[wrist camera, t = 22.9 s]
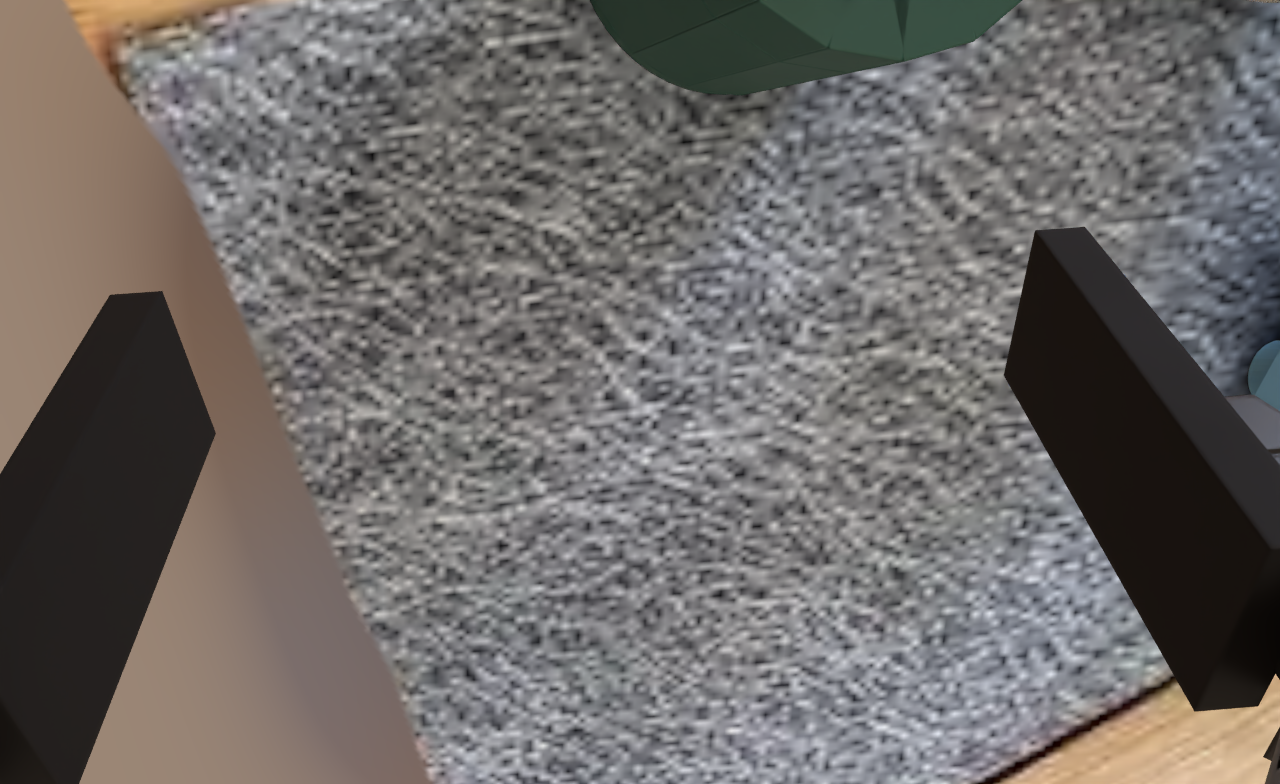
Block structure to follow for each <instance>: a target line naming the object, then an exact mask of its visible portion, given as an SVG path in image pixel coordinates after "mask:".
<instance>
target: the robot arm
mask: <svg viewBox="0 0 1280 784" xmlns="http://www.w3.org/2000/svg"><path fill="white" fill-rule="evenodd" d="M1004 376H1005V378H1006V380H1007V382H1008V384H1009V385H1010V387H1011V389H1012V391H1013V392H1014V394H1015V396H1016V398H1017V399H1018V401H1019V403H1020V405H1021V406H1022V408H1023V410H1024V412H1025V413H1026V415H1027V417H1028V419H1029V421H1030V422H1031V424H1032V426H1033V428H1034V429H1035V431H1036V433H1037V435H1038V436H1039V438H1040V440H1041V442H1042V443H1043V445H1044V447H1045V449H1046V450H1047V452H1048V454H1049V456H1050V458H1051V459H1052V461H1053V463H1054V465H1055V466H1056V468H1057V470H1058V472H1059V473H1060V475H1061V477H1062V479H1063V480H1064V482H1065V484H1066V486H1067V487H1068V489H1069V491H1070V493H1071V495H1072V496H1073V498H1074V500H1075V502H1076V503H1077V505H1078V507H1079V509H1080V510H1081V512H1082V514H1083V516H1084V517H1085V519H1086V521H1087V523H1088V524H1089V526H1090V528H1091V530H1092V532H1093V533H1094V535H1095V537H1096V539H1097V540H1098V542H1099V544H1100V546H1101V547H1102V549H1103V551H1104V553H1105V554H1106V556H1107V558H1108V560H1109V561H1110V563H1111V565H1112V567H1113V569H1114V570H1115V572H1116V574H1117V576H1118V577H1119V579H1120V581H1121V583H1122V584H1123V586H1124V588H1125V590H1126V591H1127V593H1128V595H1129V597H1130V599H1131V600H1132V602H1133V604H1134V606H1135V607H1136V609H1137V611H1138V613H1139V614H1140V616H1141V618H1142V620H1143V621H1144V623H1145V625H1146V627H1147V628H1148V630H1149V632H1150V634H1151V636H1152V637H1153V639H1154V641H1155V643H1156V644H1157V646H1158V648H1159V650H1160V651H1161V653H1162V655H1163V657H1164V658H1165V660H1166V662H1167V664H1168V665H1169V667H1170V669H1171V671H1172V673H1173V674H1174V676H1175V678H1176V680H1177V681H1178V683H1179V685H1180V687H1181V688H1182V690H1183V692H1184V694H1185V695H1186V697H1187V699H1188V701H1189V702H1190V704H1191V706H1192V708H1193V710H1194V711H1207V710H1219V709H1231V708H1243V707H1255V706H1259V704H1260V702H1261V700H1262V698H1263V696H1264V694H1265V692H1266V690H1267V689H1268V687H1269V685H1270V683H1271V681H1272V679H1273V677H1274V675H1275V673H1276V675H1277V676H1278V678H1279V679H1280V411H1279V410H1277V409H1276V408H1274V407H1273V406H1271V405H1269V404H1268V403H1266V402H1265V401H1263V400H1262V399H1260V398H1258V397H1257V396H1255V395H1241V396H1227V397H1224V396H1223V395H1222V394H1221V392H1220V391H1219V390H1218V389H1217V387H1216V386H1215V385H1214V384H1213V383H1212V381H1211V380H1210V379H1209V378H1208V377H1207V375H1206V374H1205V373H1204V372H1203V370H1202V369H1201V368H1200V367H1199V366H1198V364H1197V363H1196V362H1195V361H1194V359H1193V358H1192V357H1191V356H1190V355H1189V353H1188V352H1187V351H1186V350H1185V348H1184V347H1183V346H1182V345H1181V344H1180V342H1179V341H1178V340H1177V339H1176V338H1175V336H1174V335H1173V334H1172V333H1171V331H1170V330H1169V329H1168V328H1167V327H1166V325H1165V324H1164V323H1163V322H1162V320H1161V319H1160V318H1159V317H1158V316H1157V314H1156V313H1155V312H1154V311H1153V310H1152V308H1151V307H1150V306H1149V305H1148V303H1147V302H1146V301H1145V300H1144V299H1143V297H1142V296H1141V295H1140V294H1139V292H1138V291H1137V290H1136V289H1135V288H1134V286H1133V285H1132V284H1131V283H1130V282H1129V280H1128V279H1127V278H1126V277H1125V275H1124V274H1123V273H1122V272H1121V271H1120V269H1119V268H1118V267H1117V266H1116V264H1115V263H1114V262H1113V261H1112V260H1111V258H1110V257H1109V256H1108V255H1107V254H1106V252H1105V251H1104V250H1103V249H1102V247H1101V246H1100V245H1099V244H1098V243H1097V241H1096V240H1095V239H1094V238H1093V236H1092V235H1091V234H1090V233H1089V232H1088V230H1087V229H1086V228H1085V227H1079V228H1064V229H1050V230H1036V231H1035V233H1034V238H1033V243H1032V247H1031V252H1030V257H1029V261H1028V266H1027V271H1026V275H1025V280H1024V284H1023V289H1022V294H1021V298H1020V303H1019V308H1018V312H1017V317H1016V322H1015V326H1014V331H1013V336H1012V340H1011V345H1010V349H1009V354H1008V359H1007V363H1006V368H1005V373H1004ZM215 434H216V433H215V430H214V427H213V425H212V422H211V419H210V417H209V414H208V411H207V409H206V406H205V403H204V401H203V398H202V396H201V393H200V390H199V388H198V385H197V382H196V380H195V377H194V375H193V372H192V369H191V366H190V364H189V361H188V358H187V356H186V353H185V350H184V348H183V345H182V342H181V340H180V337H179V334H178V332H177V329H176V327H175V324H174V321H173V319H172V316H171V313H170V310H169V308H168V305H167V302H166V300H165V297H164V295H163V292H162V291H158V292H145V293H130V294H115V295H110V296H109V298H108V299H107V301H106V303H105V304H104V306H103V307H102V309H101V310H100V312H99V314H98V315H97V317H96V319H95V320H94V322H93V324H92V325H91V327H90V328H89V330H88V332H87V334H86V335H85V337H84V338H83V340H82V341H81V343H80V345H79V346H78V348H77V350H76V351H75V353H74V355H73V356H72V358H71V360H70V361H69V363H68V364H67V366H66V368H65V369H64V371H63V373H62V374H61V376H60V378H59V379H58V381H57V382H56V384H55V386H54V387H53V389H52V390H51V392H50V394H49V395H48V397H47V399H46V400H45V402H44V404H43V405H42V407H41V408H40V410H39V412H38V413H37V415H36V417H35V418H34V420H33V421H32V423H31V425H30V427H29V428H28V430H27V432H26V433H25V435H24V436H23V438H22V439H21V441H20V443H19V444H18V446H17V448H16V449H15V451H14V453H13V454H12V456H11V457H10V459H9V461H8V462H7V464H6V466H5V467H4V469H3V471H2V472H1V474H0V784H79V782H80V780H81V777H82V774H83V772H84V769H85V767H86V764H87V762H88V759H89V757H90V754H91V751H92V749H93V746H94V744H95V741H96V739H97V736H98V734H99V731H100V728H101V726H102V723H103V721H104V718H105V716H106V713H107V710H108V708H109V705H110V703H111V700H112V698H113V695H114V692H115V690H116V687H117V685H118V682H119V680H120V677H121V674H122V672H123V669H124V667H125V664H126V662H127V659H128V657H129V654H130V652H131V649H132V646H133V644H134V641H135V639H136V636H137V634H138V631H139V629H140V626H141V623H142V621H143V618H144V616H145V613H146V611H147V608H148V605H149V603H150V600H151V598H152V595H153V592H154V590H155V588H156V585H157V582H158V580H159V577H160V575H161V572H162V570H163V567H164V564H165V562H166V559H167V556H168V554H169V552H170V549H171V546H172V544H173V541H174V539H175V536H176V534H177V531H178V529H179V526H180V524H181V521H182V518H183V516H184V513H185V511H186V508H187V506H188V503H189V500H190V498H191V495H192V493H193V490H194V487H195V485H196V482H197V480H198V477H199V475H200V472H201V470H202V467H203V465H204V462H205V459H206V457H207V454H208V452H209V449H210V447H211V444H212V441H213V439H214V436H215ZM1263 757H1264V758H1267V759H1269V760H1271V761H1272V762H1271V765H1270V768H1269V772H1268V775H1267V778H1266V782H1265V784H1280V728H1279V729H1278V731H1277V733H1276V735H1275V737H1274V738H1273V740H1272V742H1271V744H1270V746H1269V747H1268V749H1267V751H1266V753H1265V754H1264V756H1263Z"/></svg>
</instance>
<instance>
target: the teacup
mask: <svg viewBox="0 0 1280 784" xmlns="http://www.w3.org/2000/svg"><path fill="white" fill-rule="evenodd" d="M1246 1H1253V2H1264V3H1277V2H1280V0H1246Z"/></svg>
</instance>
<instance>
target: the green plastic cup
mask: <svg viewBox="0 0 1280 784" xmlns="http://www.w3.org/2000/svg"><path fill="white" fill-rule="evenodd" d="M590 1H591V3H592V5H593V7H594V10H595V12H596V13H597V15H598V17H599V18H600V20H601V21H602V23H603V25H604V26H605V28H606V29H607V31H608V32H609V33H610V35H611V36H612V37H613V38H614V40H615V41H616V42H617V43H618V44H619V46H620V47H621V48H622V49H623V50H624V51H625V52H626V53H627V54H628V55H630V56H631V57H632V58H633V59H634V60H635V61H636V62H637V63H639V64H640V65H641V66H643V67H644V68H646V69H647V70H648V71H650V72H651V73H653V74H654V75H656V76H658V77H660V78H662V79H664V80H665V81H667V82H669V83H672V84H675V85H677V86H680V87H683V88H685V89H689V90H693V91H697V92H702V93H709V94H722V95H725V94H733V95H746V94H751V93H756V92H760V91H765V90H770V89H775V88H780V87H784V86H789V85H794V84H799V83H804V82H809V81H813V80H818V79H823V78H828V77H833V76H837V75H842V74H847V73H852V72H857V71H862V70H866V69H871V68H876V67H881V66H886V65H890V64H895V63H900V62H905V61H908V60H912V59H915V58H919V57H922V56H925V55H929V54H932V53H936V52H939V51H943V50H946V49H949V48H953V47H956V46H960V45H963V44H966V43H970V42H973V41H975V39H977V38H979V37H980V36H981V35H982V34H983V33H984V32H986V31H987V30H988V29H989V28H990V27H992V26H993V25H994V24H995V23H996V22H997V21H999V20H1000V19H1001V18H1002V17H1003V16H1004V15H1006V14H1007V13H1008V12H1009V11H1010V10H1011V9H1013V8H1014V7H1015V6H1016V5H1017V4H1018V3H1020V2H1021V1H1022V0H590Z"/></svg>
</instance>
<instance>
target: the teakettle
mask: <svg viewBox="0 0 1280 784" xmlns="http://www.w3.org/2000/svg"><path fill="white" fill-rule="evenodd" d="M1248 385H1249V390H1250V392H1251V394H1252V395H1255V396H1257V397H1258V398H1260V399H1262V400H1263V401H1265V402H1266V403H1268V404H1269V405H1271V406H1273V407H1274V408H1276V409H1277V410H1279V411H1280V340H1276V341H1273V342H1270V343H1268V344H1266V345H1265V346H1264V347H1262V348H1261V349H1260V350H1259V351H1258V352H1257V354H1256V355H1255V357H1254V358H1253V360H1252V363H1251V365H1250V368H1249V373H1248Z"/></svg>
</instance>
